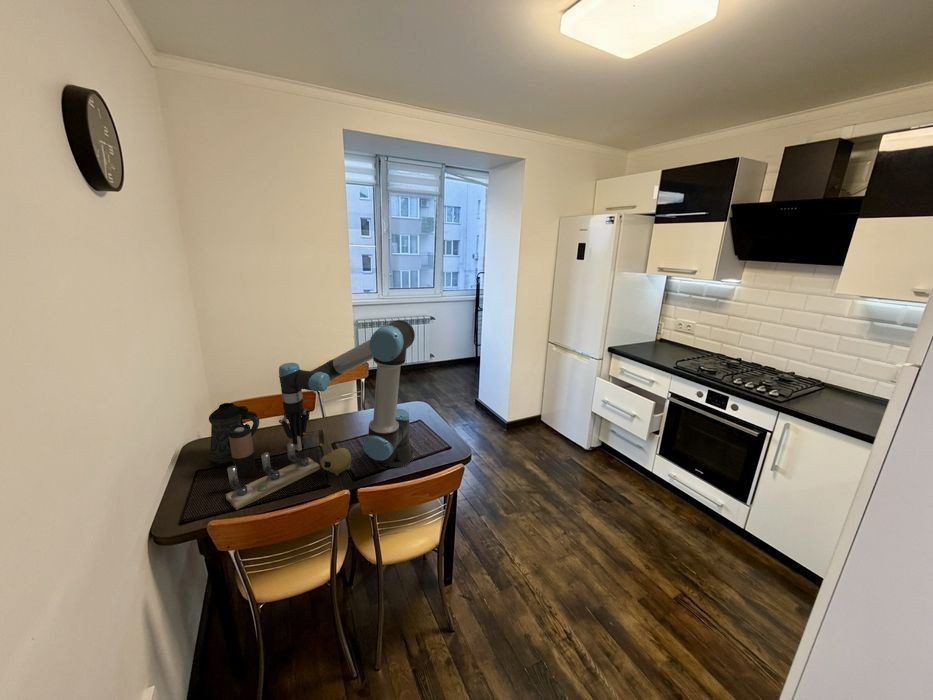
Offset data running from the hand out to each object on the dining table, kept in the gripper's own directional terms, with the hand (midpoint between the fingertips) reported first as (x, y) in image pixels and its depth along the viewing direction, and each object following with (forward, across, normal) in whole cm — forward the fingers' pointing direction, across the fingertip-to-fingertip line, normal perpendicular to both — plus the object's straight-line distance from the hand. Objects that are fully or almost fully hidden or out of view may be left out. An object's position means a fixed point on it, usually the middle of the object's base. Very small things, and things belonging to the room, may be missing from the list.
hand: (298, 449), depth 156 cm
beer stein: (+6, +13, -26) cm, 30 cm away
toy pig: (+6, -3, +20) cm, 21 cm away
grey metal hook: (+3, +14, +2) cm, 15 cm away
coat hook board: (+5, +14, +6) cm, 16 cm away
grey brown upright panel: (+7, -10, -6) cm, 14 cm away
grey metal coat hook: (+3, +26, +1) cm, 26 cm away
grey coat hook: (+3, +3, +4) cm, 6 cm away
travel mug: (+6, +17, -11) cm, 21 cm away
